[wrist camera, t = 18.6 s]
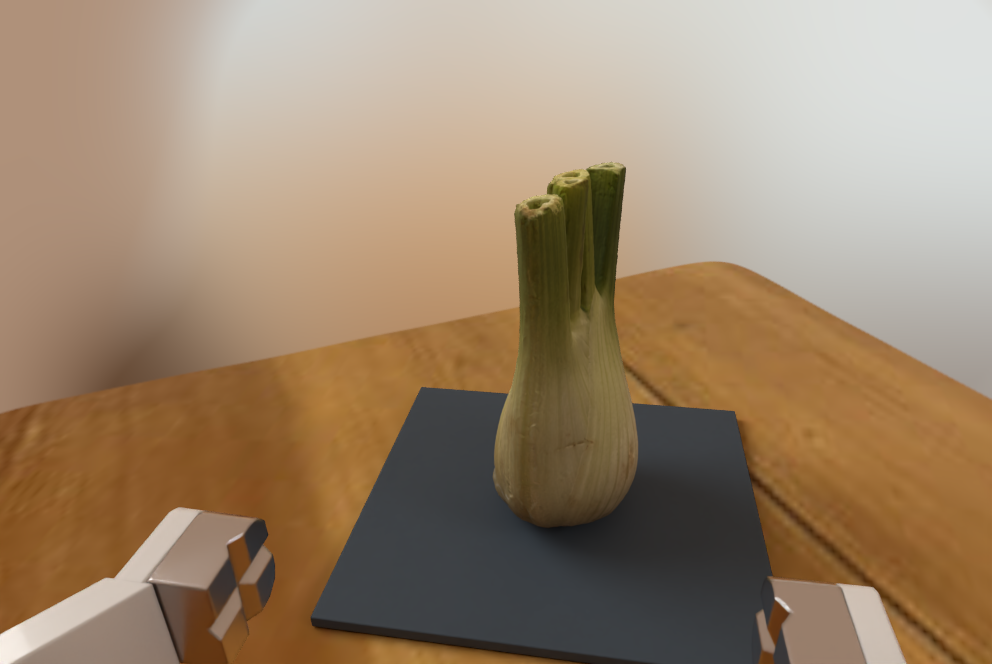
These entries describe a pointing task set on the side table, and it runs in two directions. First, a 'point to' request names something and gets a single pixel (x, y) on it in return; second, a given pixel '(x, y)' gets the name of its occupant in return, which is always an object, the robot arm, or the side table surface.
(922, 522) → the side table surface
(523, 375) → the fennel bulb
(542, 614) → the mat
